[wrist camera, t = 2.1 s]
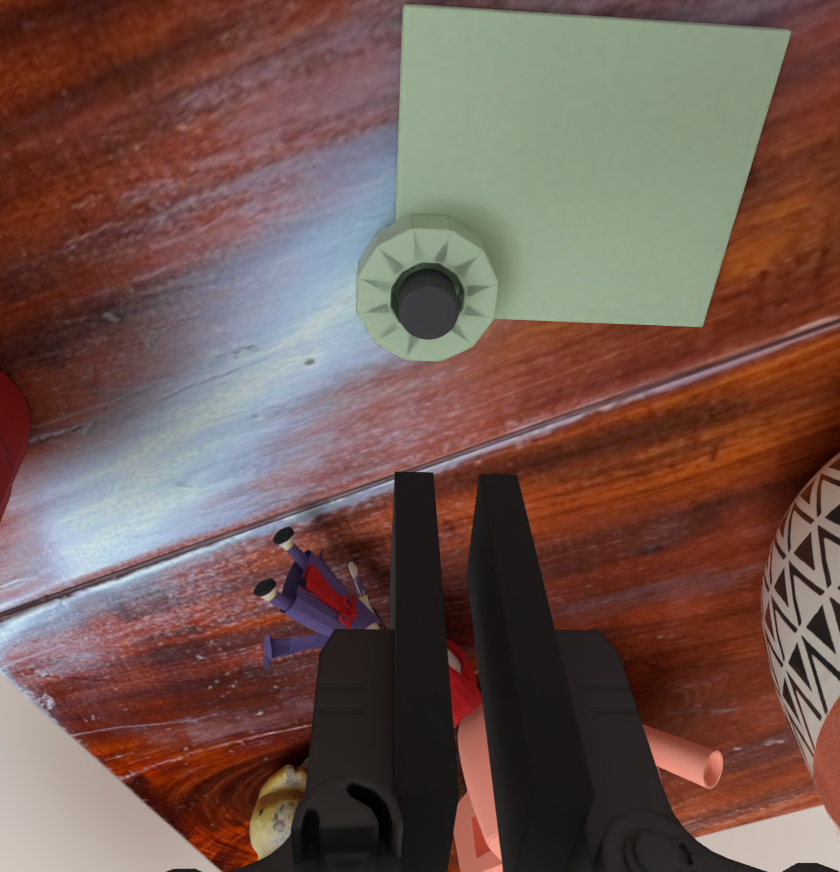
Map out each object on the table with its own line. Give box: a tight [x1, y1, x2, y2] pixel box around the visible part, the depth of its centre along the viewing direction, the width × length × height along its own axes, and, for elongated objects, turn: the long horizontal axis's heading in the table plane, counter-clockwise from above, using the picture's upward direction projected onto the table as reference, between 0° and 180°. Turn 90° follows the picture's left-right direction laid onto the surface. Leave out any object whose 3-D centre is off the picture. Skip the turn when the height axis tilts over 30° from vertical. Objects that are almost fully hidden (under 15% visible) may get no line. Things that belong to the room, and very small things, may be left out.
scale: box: [356, 4, 791, 362], centre depth 24 cm, size 13×11×2 cm
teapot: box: [453, 703, 723, 872], centre depth 37 cm, size 12×12×10 cm
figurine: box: [253, 527, 482, 728], centre depth 34 cm, size 6×8×15 cm
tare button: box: [399, 269, 459, 340], centre depth 24 cm, size 2×2×2 cm
